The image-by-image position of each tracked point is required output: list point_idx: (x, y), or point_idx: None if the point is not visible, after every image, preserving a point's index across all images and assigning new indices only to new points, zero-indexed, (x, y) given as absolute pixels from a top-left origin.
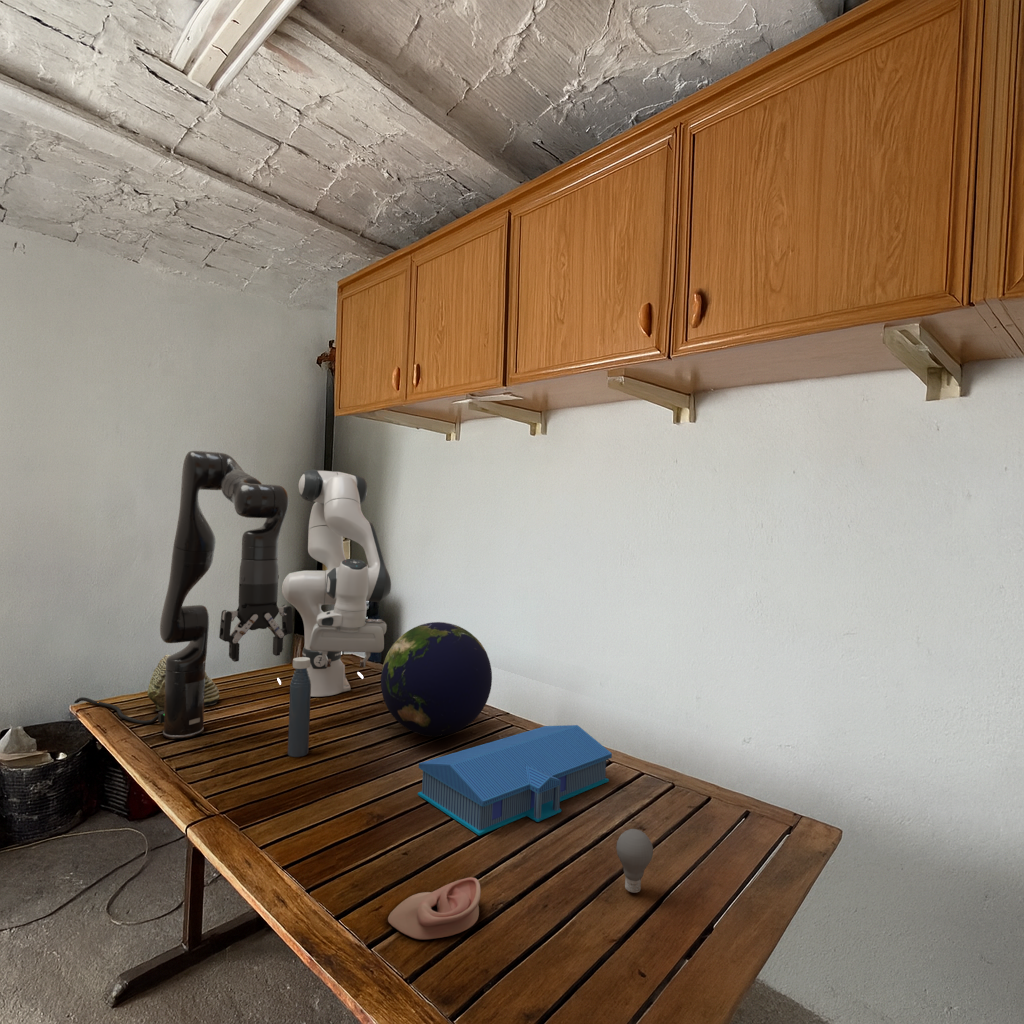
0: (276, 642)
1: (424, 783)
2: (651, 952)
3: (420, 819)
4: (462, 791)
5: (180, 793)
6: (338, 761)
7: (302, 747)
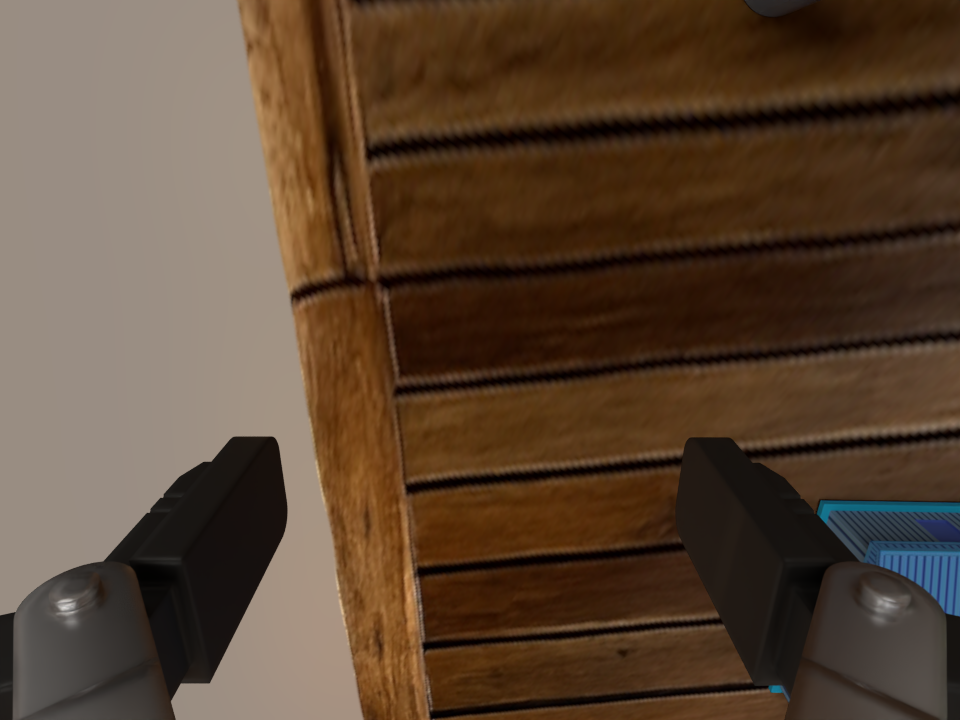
0: (733, 616)
1: (844, 538)
2: None
3: None
4: None
5: (307, 66)
6: (833, 156)
7: (790, 8)
